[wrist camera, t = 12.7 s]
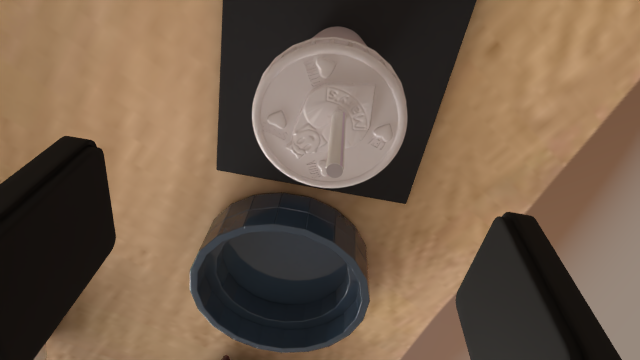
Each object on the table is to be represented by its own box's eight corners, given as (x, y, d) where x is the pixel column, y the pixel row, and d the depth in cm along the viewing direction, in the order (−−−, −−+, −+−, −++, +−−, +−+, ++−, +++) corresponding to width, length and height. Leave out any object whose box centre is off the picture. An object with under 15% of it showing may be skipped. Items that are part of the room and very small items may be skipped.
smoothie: (412, 63, 24) (467, 191, 13) (332, 127, 27) (315, 284, 15) (342, -25, 22) (329, 29, 10) (262, 53, 25) (178, 169, 13)
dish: (208, 176, 31) (189, 209, 27) (385, 208, 31) (389, 244, 28) (205, 299, 38) (189, 337, 34) (348, 323, 38) (348, 364, 35)
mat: (233, -165, 20) (229, -169, 19) (509, -109, 20) (514, -110, 20) (219, 164, 30) (216, 170, 29) (404, 198, 30) (406, 204, 30)
